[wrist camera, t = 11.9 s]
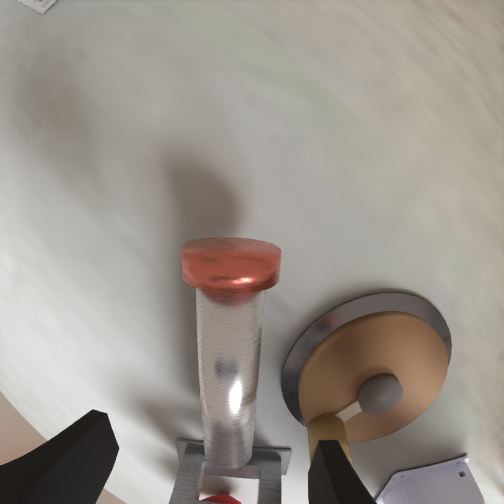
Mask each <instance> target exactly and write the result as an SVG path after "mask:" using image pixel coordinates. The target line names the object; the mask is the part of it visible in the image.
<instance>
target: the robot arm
mask: <svg viewBox="0 0 504 504" xmlns="http://www.w3.org/2000/svg"><path fill="white" fill-rule="evenodd" d="M118 451H119V446H118V444H117V441H116V438H115V435H114V433H113V430H112V427H111V424H110V421H109V418H108V415H107V413H104V412H100V411H97V410H94V409H92V410H91V411H90V412H88V413H87V414H85V415H84V416H83V417H81V418H80V419H79V420H77V421H76V422H74V423H73V424H72V425H70V426H69V427H68V428H66V429H65V430H63V431H62V432H60V433H59V434H58V435H56V436H55V437H53V438H52V439H50V440H49V441H47V442H46V443H44V444H43V445H41V446H39V447H37V448H36V449H34V450H33V451H31V452H29V453H27V454H25V455H24V456H22V457H19V458H17V459H15V460H13V461H11V462H8V463H6V464H3V465H0V504H95V503H96V501H97V499H98V497H99V495H100V493H101V491H102V489H103V487H104V485H105V483H106V481H107V479H108V477H109V475H110V473H111V471H112V469H113V466H114V463H115V460H116V457H117V454H118ZM468 460H469V457H468V456H464V457H461V458H457V459H454V460H450V461H446V462H443V463H439V464H435V465H431V466H426V467H422V468H417V469H412V470H407V471H402V472H397V473H395V474H394V475H393V476H392V477H391V479H390V480H389V482H388V483H387V485H386V486H385V488H384V489H383V491H382V492H381V494H380V495H379V497H378V498H377V499H376V501H375V500H374V499H373V497H372V496H371V495H370V493H369V492H368V490H367V489H366V487H365V486H364V484H363V483H362V481H361V480H360V478H359V477H358V475H357V474H356V472H355V470H354V469H353V467H352V465H351V463H350V462H349V460H348V458H347V456H346V454H345V453H344V451H343V449H342V447H341V445H340V443H339V441H338V440H318V444H317V447H316V450H315V453H314V457H313V460H312V463H311V466H310V469H309V472H308V499H309V504H484V499H483V496H482V494H481V492H480V490H479V488H478V486H477V484H476V482H475V480H474V478H473V476H472V474H471V472H470V470H469V468H468V466H467V464H466V463H467V461H468Z"/></svg>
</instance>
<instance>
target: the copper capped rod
mask: <svg viewBox="0 0 504 504" xmlns="http://www.w3.org/2000/svg"><path fill="white" fill-rule="evenodd" d="M280 260H281V250H280V248H278V247H277V246H275V245H273V244H270V243H267V242H263V241H259V240H253V239H244V238H207V239H200V240H195V241H191V242H189V243H186V244H185V245H183V246H182V248H181V262H182V279H183V280H184V282H185V283H187V284H188V285H190V286H192V287H194V288H196V316H197V345H198V367H199V385H200V401H201V415H202V428H203V439H204V450H205V456H206V458H207V460H208V461H209V462H210V463H211V464H212V465H214V466H216V467H218V468H222V469H236V468H240V467H242V466H244V465H245V464H247V463H248V462H249V461H250V459H251V457H252V450H253V438H254V426H255V413H256V401H257V388H258V374H259V361H260V347H261V333H262V318H263V303H264V290H266V289H269V288H271V287H273V286H274V285H276V284H277V283H278V281H279V273H280Z"/></svg>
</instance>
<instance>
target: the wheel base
mask: <svg viewBox="0 0 504 504" xmlns="http://www.w3.org/2000/svg"><path fill="white" fill-rule="evenodd" d="M382 311H401V312H406V313H410V314H413V315H415V316H418V317H419V318H421V319H423V320H424V321H425V322H427V323H428V324H429V325H430V326H431V327H432V328H433V329H434V331H435V332H436V333H437V334H438V335H439V336H440V338H441V339H442V341H443V343H444V344H445V347H446V350H447V355H448V366H449V362H450V357H451V347H452V344H451V335H450V331H449V328H448V326H447V323H446V321H445V320H444V318H443V317H442V315H441V314H440V313H439V312H438V311H437V310H436V309H435V308H434V307H433V306H432V305H431V304H429V303H428V302H426V301H425V300H423V299H421V298H419V297H416V296H413V295H410V294H406V293H397V292H381V293H375V294H369V295H365V296H362V297H358V298H355V299H352V300H350V301H348V302H345V303H343V304H341V305H339V306H337V307H335V308H334V309H332V310H330V311H329V312H327V313H326V314H324V315H323V316H321V317H320V318H319V319H318V320H316V321H315V322H314V323H313V324H312V325H311V326H309V327H308V329H307V330H306V331H305V332H304V333H303V334H302V335H301V336H300V338H299V339H298V340H297V342H296V343H295V344H294V346H293V348H292V349H291V351H290V353H289V355H288V357H287V360H286V363H285V365H284V370H283V375H282V391H283V397H284V400H285V403H286V405H287V407H288V409H289V411H290V412H291V414H292V415H293V416H294V417H295V419H297V420H298V421H299V422H300V423H301V424H302V425H304V426H305V427H307V426H308V424H307V422H306V421H305V419H304V418H303V416H302V413H301V410H300V405H299V396H298V381H299V376H300V372H301V370H302V367H303V365H304V363H305V361H306V359H307V357H308V356H309V355H310V353H311V352H312V350H313V349H314V348H315V347H316V346H317V345H318V344H319V343H320V341H322V340H323V339H324V338H325V337H326V336H327V335H328V334H330V333H331V332H333V331H334V330H335V329H337V328H338V327H340V326H342V325H343V324H345V323H347V322H349V321H351V320H354V319H356V318H358V317H361V316H364V315H367V314H371V313H376V312H382ZM447 369H448V368H447Z"/></svg>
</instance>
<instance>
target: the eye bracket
mask: <svg viewBox="0 0 504 504" xmlns="http://www.w3.org/2000/svg"><path fill="white" fill-rule="evenodd" d="M176 442H177V447H178V452H179V458H180V463H181V465H180V469H179V472H178V475H177V478H176V482H175V485H174V488H173V492H172V495H171V498H170V502H169V504H223V503H215V502H208V501H201V500H199V496H200V491H201V487H202V482H203V478H204V474H211V475H218V476H227V477H237V478H250V479H259V483H258V497H257V504H281V475H286V473H287V468H288V464H289V460H290V456H291V449H273V448H254V447H253V450H252V457H251V459H250V461H249V462H248V463H247V464H245V465H244V466H242V467H240V468H236V469H222V468H218V467H216V466H214V465H212V464H211V463H210V462H209V461H208V460H207V458H206V456H205V450H204V442H198V441H192V440H185V439H179V438H177V440H176Z"/></svg>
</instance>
